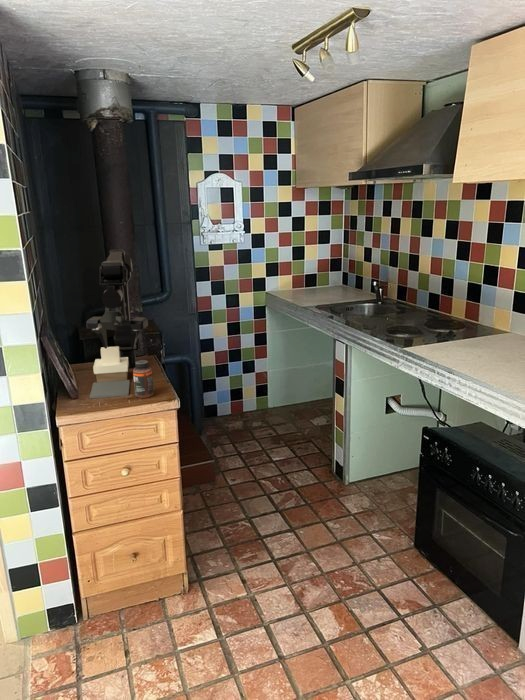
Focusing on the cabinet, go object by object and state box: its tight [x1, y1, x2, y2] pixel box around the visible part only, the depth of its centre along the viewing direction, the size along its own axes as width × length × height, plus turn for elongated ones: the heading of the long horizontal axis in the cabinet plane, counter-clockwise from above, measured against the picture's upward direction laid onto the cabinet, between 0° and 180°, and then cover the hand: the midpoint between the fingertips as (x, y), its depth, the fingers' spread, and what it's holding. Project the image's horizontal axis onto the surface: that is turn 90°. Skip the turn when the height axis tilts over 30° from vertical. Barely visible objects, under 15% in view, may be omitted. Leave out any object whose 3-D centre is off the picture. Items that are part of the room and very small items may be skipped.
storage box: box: [95, 371, 129, 382], centre depth 189 cm, size 8×10×5 cm
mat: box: [89, 379, 131, 400], centre depth 179 cm, size 14×12×1 cm
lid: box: [92, 346, 129, 375], centre depth 188 cm, size 9×11×8 cm
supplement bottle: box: [132, 359, 155, 399], centre depth 172 cm, size 6×6×11 cm
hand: (119, 348), depth 177 cm, fingers open, 9 cm apart
